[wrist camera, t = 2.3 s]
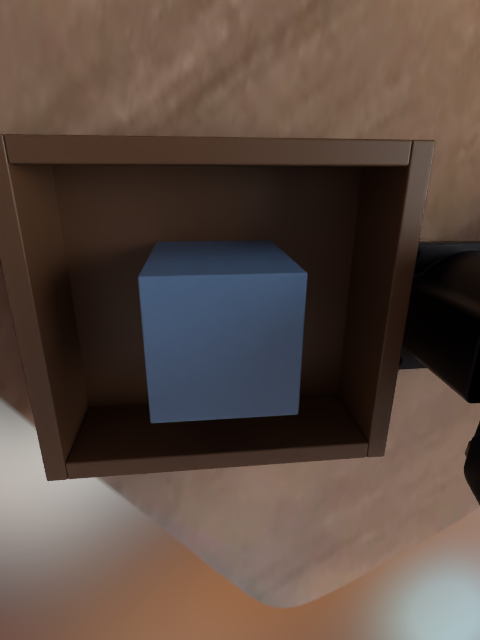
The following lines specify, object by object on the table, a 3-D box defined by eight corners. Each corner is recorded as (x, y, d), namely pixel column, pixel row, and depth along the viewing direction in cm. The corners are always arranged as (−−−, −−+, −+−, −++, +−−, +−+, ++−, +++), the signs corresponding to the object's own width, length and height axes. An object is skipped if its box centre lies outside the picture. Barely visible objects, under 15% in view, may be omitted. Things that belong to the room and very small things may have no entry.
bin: (77, 415, 20) (46, 481, 16) (33, 143, 16) (-27, 133, 11) (346, 399, 22) (384, 456, 17) (375, 147, 17) (436, 139, 13)
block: (163, 348, 19) (150, 424, 13) (155, 241, 17) (137, 276, 11) (268, 343, 19) (298, 415, 14) (271, 239, 17) (308, 272, 12)
